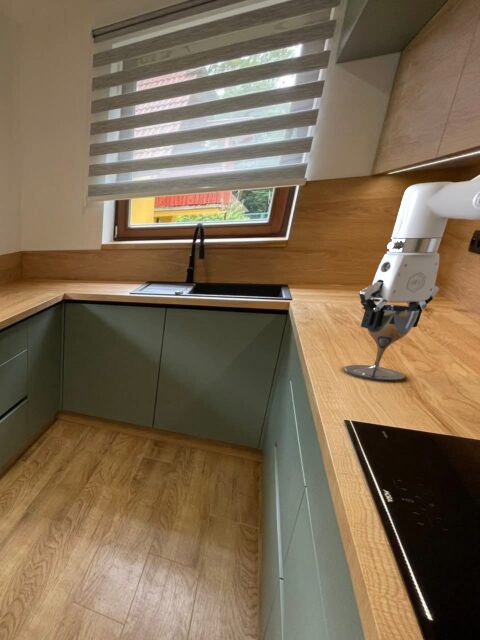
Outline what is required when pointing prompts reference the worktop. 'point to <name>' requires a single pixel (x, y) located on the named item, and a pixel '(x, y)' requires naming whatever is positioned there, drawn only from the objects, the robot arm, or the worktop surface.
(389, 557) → the worktop surface
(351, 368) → the coaster
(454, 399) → the worktop surface
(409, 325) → the wine glass
